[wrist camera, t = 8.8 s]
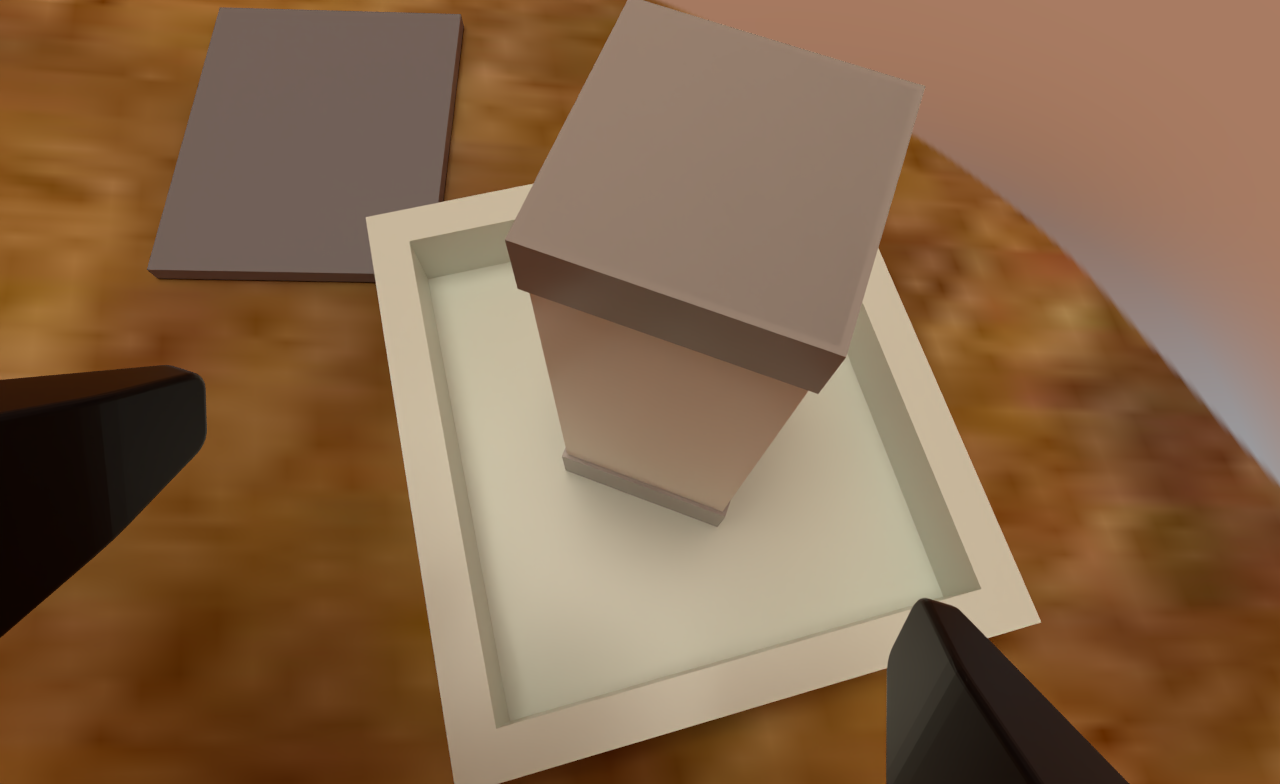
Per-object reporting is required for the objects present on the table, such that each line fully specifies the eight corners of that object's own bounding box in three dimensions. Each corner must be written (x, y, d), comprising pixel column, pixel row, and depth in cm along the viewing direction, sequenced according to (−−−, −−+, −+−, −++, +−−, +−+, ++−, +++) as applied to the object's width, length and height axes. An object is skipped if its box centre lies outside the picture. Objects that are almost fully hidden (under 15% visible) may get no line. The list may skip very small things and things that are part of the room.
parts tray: (986, 627, 18) (1041, 622, 16) (478, 777, 17) (455, 796, 14) (803, 180, 23) (824, 126, 21) (393, 265, 21) (365, 217, 19)
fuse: (717, 526, 18) (846, 356, 8) (565, 470, 19) (505, 240, 9) (764, 384, 20) (925, 86, 10) (622, 334, 20) (629, -4, 10)
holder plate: (433, 283, 21) (429, 274, 21) (157, 278, 21) (146, 269, 20) (463, 26, 25) (460, 14, 24) (227, 19, 24) (219, 7, 24)
